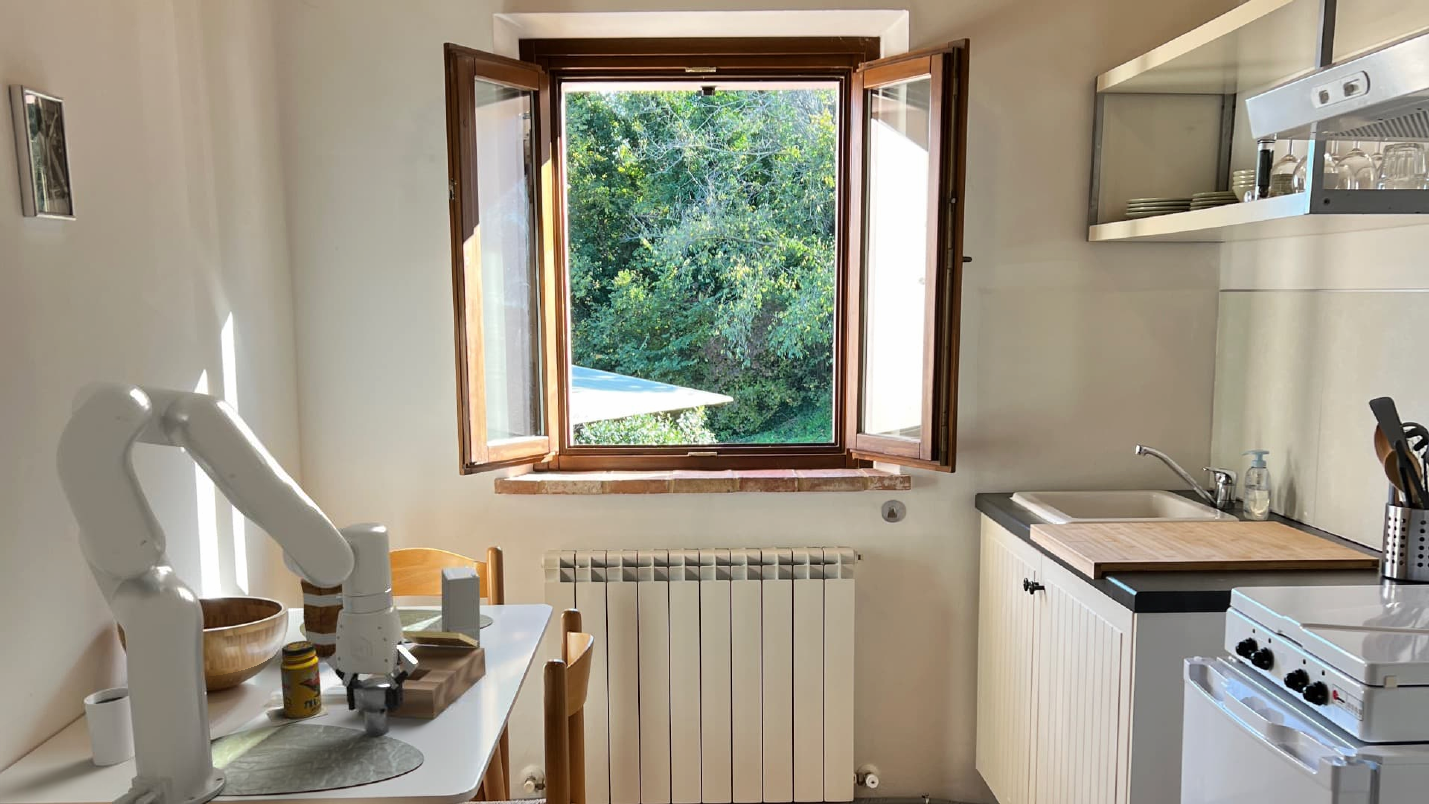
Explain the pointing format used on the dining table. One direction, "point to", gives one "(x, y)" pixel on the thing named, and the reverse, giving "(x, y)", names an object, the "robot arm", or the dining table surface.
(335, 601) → the mug
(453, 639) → the brass keeper
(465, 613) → the skincare box
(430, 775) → the dining table surface
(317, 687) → the condiment
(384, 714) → the steel pin
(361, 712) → the block
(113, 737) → the white cup
